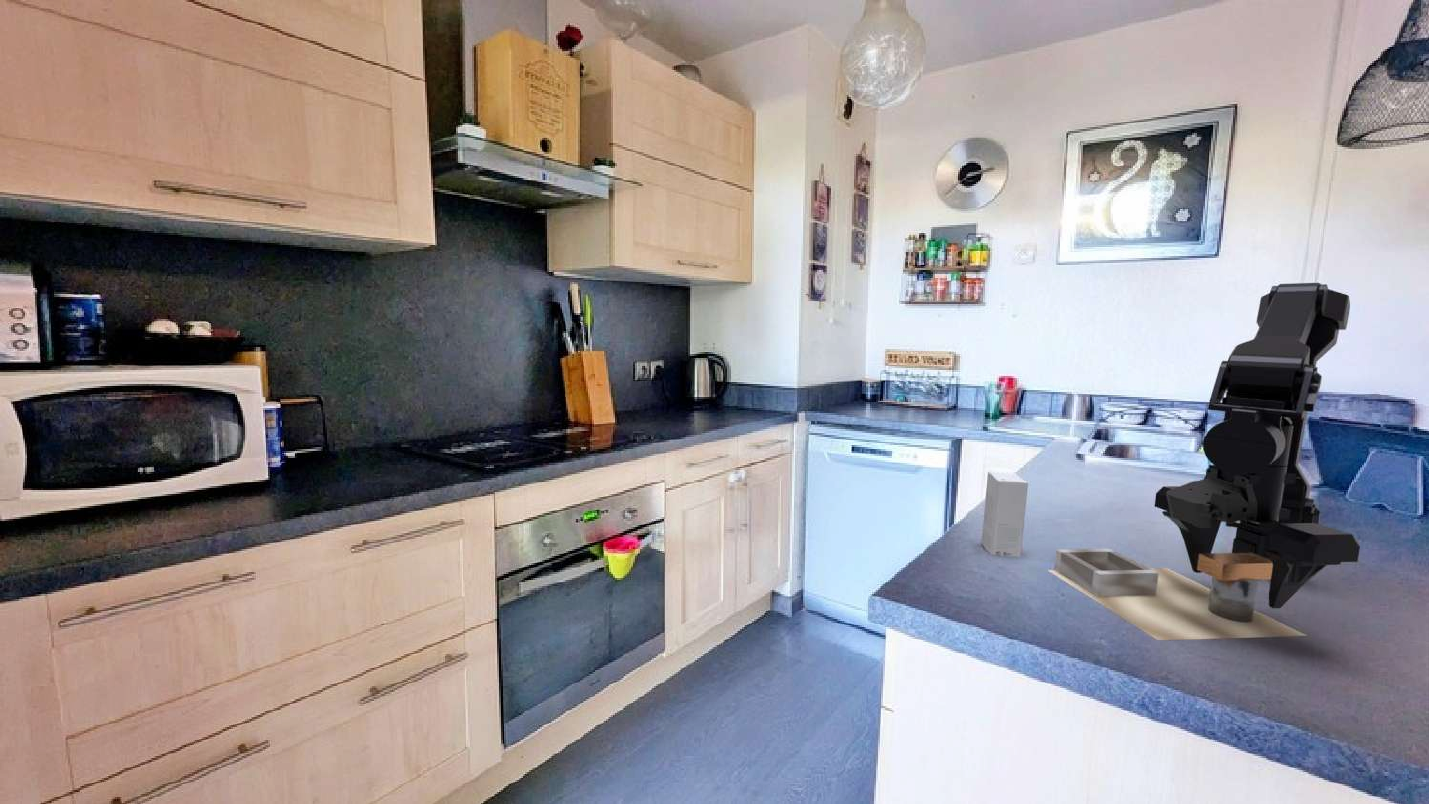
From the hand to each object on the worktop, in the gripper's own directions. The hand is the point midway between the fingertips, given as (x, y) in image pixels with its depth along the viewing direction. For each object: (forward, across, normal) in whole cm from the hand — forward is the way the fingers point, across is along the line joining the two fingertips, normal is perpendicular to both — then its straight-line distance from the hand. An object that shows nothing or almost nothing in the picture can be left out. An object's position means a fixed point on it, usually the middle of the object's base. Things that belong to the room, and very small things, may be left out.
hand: (1233, 588), depth 68 cm
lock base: (+4, -4, -5) cm, 7 cm away
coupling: (+3, 0, 0) cm, 3 cm away
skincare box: (+4, -21, -16) cm, 27 cm away
